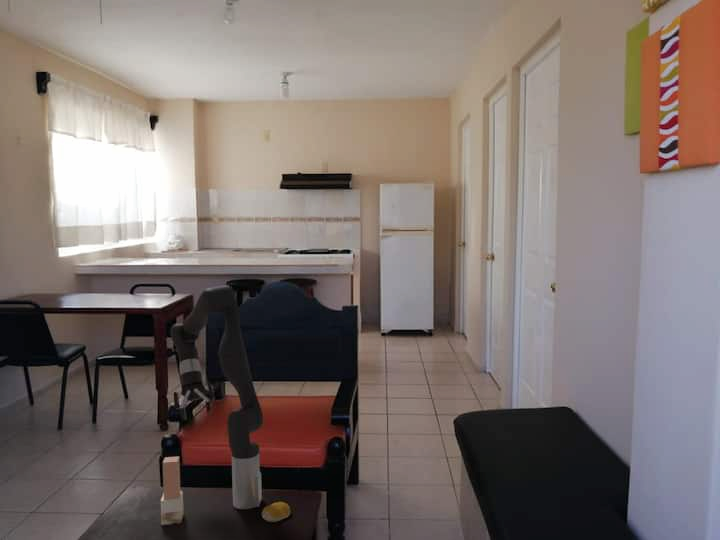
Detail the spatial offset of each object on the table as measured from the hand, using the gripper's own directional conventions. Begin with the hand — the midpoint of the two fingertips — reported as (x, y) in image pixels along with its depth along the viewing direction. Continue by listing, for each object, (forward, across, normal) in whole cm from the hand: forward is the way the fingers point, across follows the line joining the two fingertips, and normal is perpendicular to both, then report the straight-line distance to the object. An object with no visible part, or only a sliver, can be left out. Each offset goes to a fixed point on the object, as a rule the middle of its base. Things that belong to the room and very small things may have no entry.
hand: (196, 416), depth 203 cm
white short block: (+29, -10, -9) cm, 32 cm away
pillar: (+26, -9, -11) cm, 30 cm away
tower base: (+33, -11, -7) cm, 35 cm away
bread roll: (+40, +22, -7) cm, 46 cm away
